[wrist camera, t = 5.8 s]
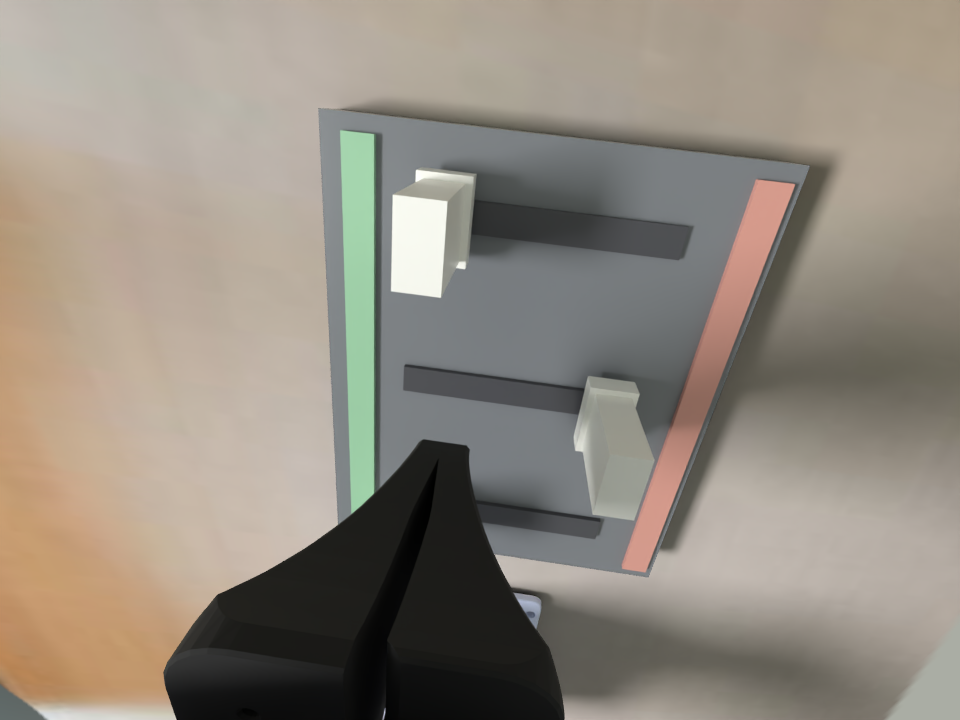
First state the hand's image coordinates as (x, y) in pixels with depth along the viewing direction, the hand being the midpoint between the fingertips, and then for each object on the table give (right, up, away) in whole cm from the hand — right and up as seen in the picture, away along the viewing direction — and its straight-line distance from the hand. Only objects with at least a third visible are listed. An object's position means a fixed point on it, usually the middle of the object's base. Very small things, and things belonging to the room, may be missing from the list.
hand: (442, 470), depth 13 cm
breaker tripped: (+5, +1, +3) cm, 7 cm away
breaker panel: (+3, +3, +5) cm, 7 cm away
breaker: (0, +7, +1) cm, 7 cm away
